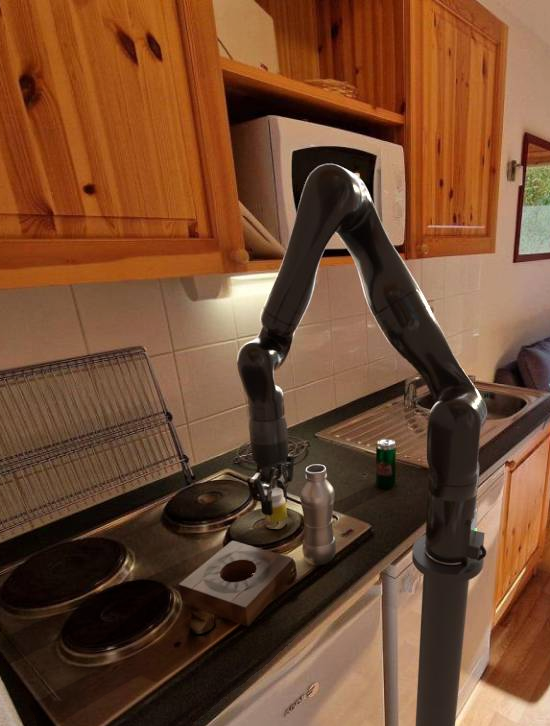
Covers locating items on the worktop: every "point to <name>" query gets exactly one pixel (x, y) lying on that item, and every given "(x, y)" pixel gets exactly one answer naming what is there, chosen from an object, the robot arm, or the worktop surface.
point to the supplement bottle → (277, 506)
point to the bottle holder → (237, 598)
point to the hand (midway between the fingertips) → (275, 507)
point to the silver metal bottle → (317, 516)
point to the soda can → (386, 463)
